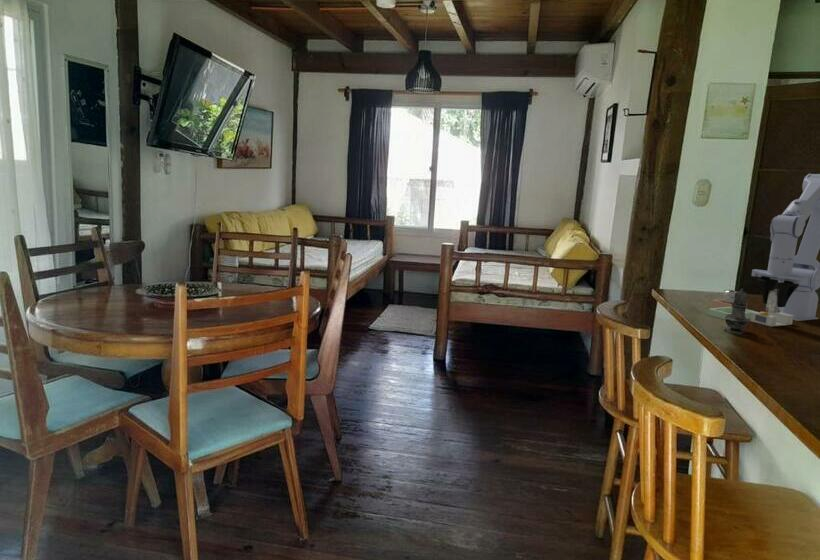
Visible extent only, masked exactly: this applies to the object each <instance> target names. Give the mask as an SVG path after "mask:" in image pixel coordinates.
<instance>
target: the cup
mask: <svg viewBox="0 0 820 560" xmlns="http://www.w3.org/2000/svg"><path fill="white" fill-rule="evenodd" d="M746 305H747V307H748V303H746ZM722 307H733V305H732V304H728V303H724V302H723V299H711V304H710V308H722ZM747 307H746V309H748V308H747Z"/></svg>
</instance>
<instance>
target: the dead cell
mask: <svg viewBox="0 0 820 560" xmlns="http://www.w3.org/2000/svg"><path fill="white" fill-rule="evenodd" d="M736 292H737V291H736V290H733V289H728V290H727V289H726V290H725V289H724V290H723V302H724V303H728V304H733V303H734V296H735V293H736Z"/></svg>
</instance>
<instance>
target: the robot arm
mask: <svg viewBox="0 0 820 560" xmlns="http://www.w3.org/2000/svg"><path fill="white" fill-rule="evenodd" d="M802 181H803V182H802V187H801V188H802V193H801V195H800V197H799V198H796V199H794V200H793V201H791V202H790V203H789V205H788V206H787V207H786V209H785V210H784V211H783V212H782V214H778V215H777V216H774V217H773V218H772V219H771V223H770V226H769V232H770V238H769V239H770V242H771V246H770V251H769V252H770V253H769V259H768V266H767V270H763V269H757V268H755V269H752V270H751V277H758V279H757V283H758V285H759V288H760V291H761V297H762V301H763V302H762V303H763V304H764V305H766V304H767V298H768V291H769V290H770V289H775V287H776V284H777V285H778V290H779V299H778V307H781V313H785V314H789V315H794V316H793V320H794V321H798V322H799V321H801V322H802V321H811V320H819V317H816V314H817V309H818V303H819V295H818V293H817V292H816V291H817V290H819V289H820V261H818V260H817V257H818V255H819V251H820V173H808V174H807V175H805V176H804V178H803V180H802ZM808 218H809V220H808ZM807 220H808V222H807V225H806V221H807ZM805 226H806V228H805V230H804V227H805ZM803 232H804V233H803ZM802 234H803V236H802V239H801V242H800V245H799V248H798V250H797V243H798V239H799V237H800V236H801V235H802ZM796 251H797V254H796Z"/></svg>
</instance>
